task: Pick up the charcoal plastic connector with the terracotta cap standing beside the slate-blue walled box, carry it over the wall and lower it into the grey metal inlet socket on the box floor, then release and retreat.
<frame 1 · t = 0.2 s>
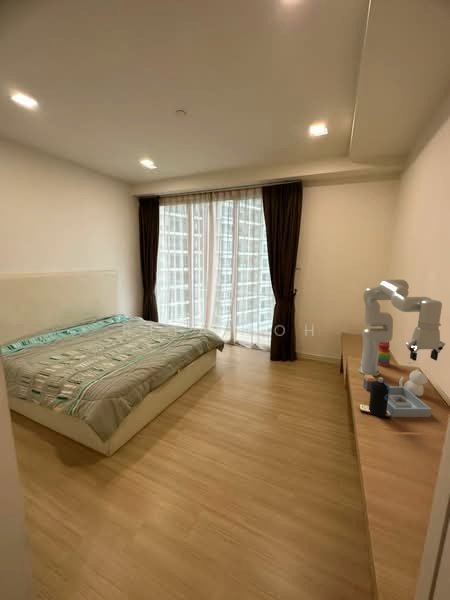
hand: (423, 359, 115), 31 cm above the table, fingers open, 9 cm apart
stacking bear: (381, 363, 175), on the table
walled box: (398, 405, 128), on the table
inlet: (398, 404, 128), resting on walled box
connector: (368, 389, 143), on the table
aerosol can: (377, 413, 123), on the table
cat figurine: (411, 393, 139), on the table
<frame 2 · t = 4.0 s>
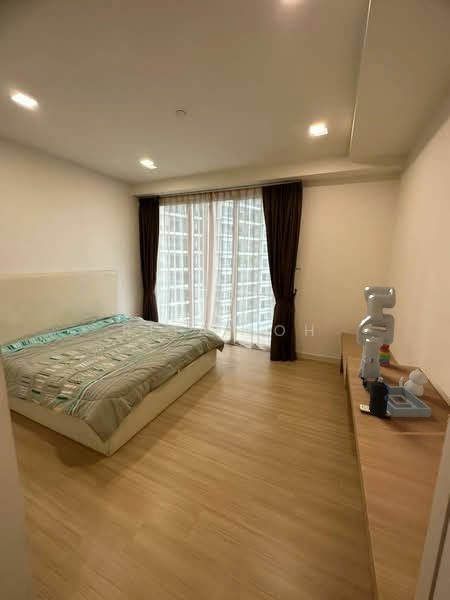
hand: (368, 386, 143), 2 cm above the table, fingers closed on connector, 4 cm apart
connector: (368, 389, 143), on the table, touching gripper
everything else where it was.
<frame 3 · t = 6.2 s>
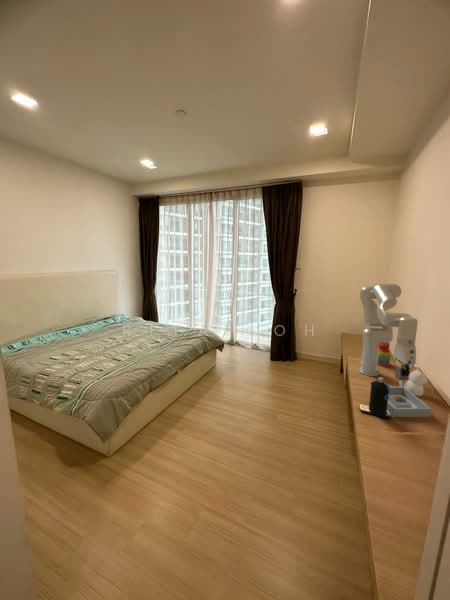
hand: (401, 373, 124), 19 cm above the table, fingers closed on connector, 4 cm apart
connector: (401, 378, 125), point 16 cm above the table, touching gripper
everything else where it was.
when the fingers open (4 cm above the table, at t = 8.5 s): connector stays where it is, resting on walled box.
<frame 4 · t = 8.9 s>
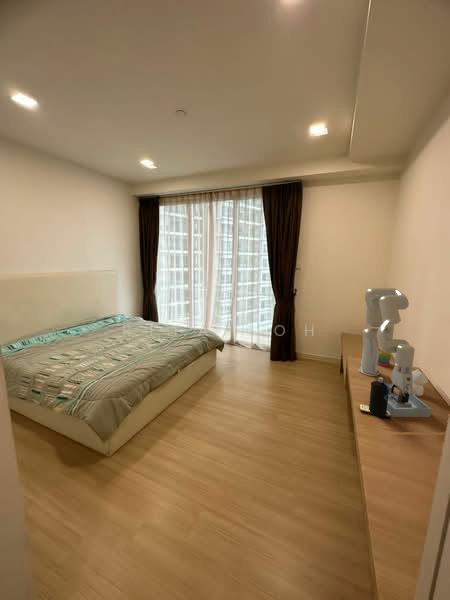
hand: (399, 397, 127), 5 cm above the table, fingers open, 7 cm apart
connector: (398, 404, 128), point 1 cm above the table, touching walled box
everything else where it was.
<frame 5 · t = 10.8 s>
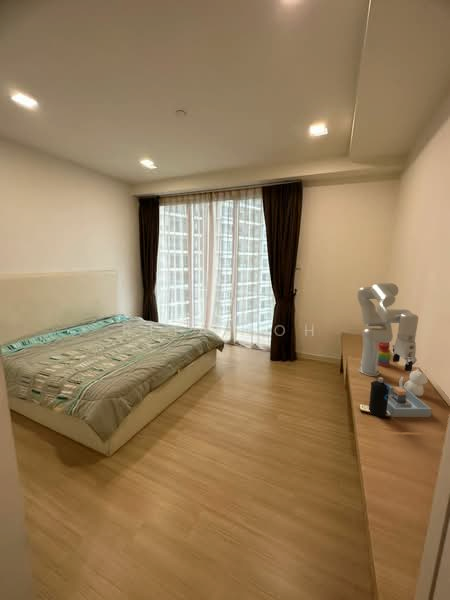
hand: (401, 366, 128), 22 cm above the table, fingers open, 9 cm apart
nothing on the table moved.
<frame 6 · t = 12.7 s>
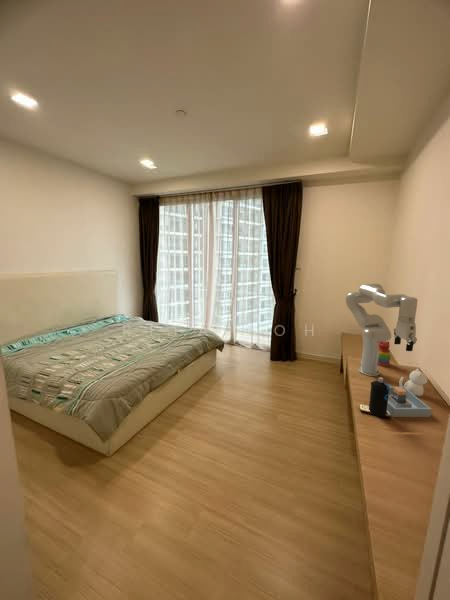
hand: (402, 347, 135), 28 cm above the table, fingers open, 9 cm apart
nothing on the table moved.
at the end: connector 0.1 cm off-centre on the inlet, point 0.0 cm above the inlet's base; connector tilted 0°; the gripper is holding nothing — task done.
